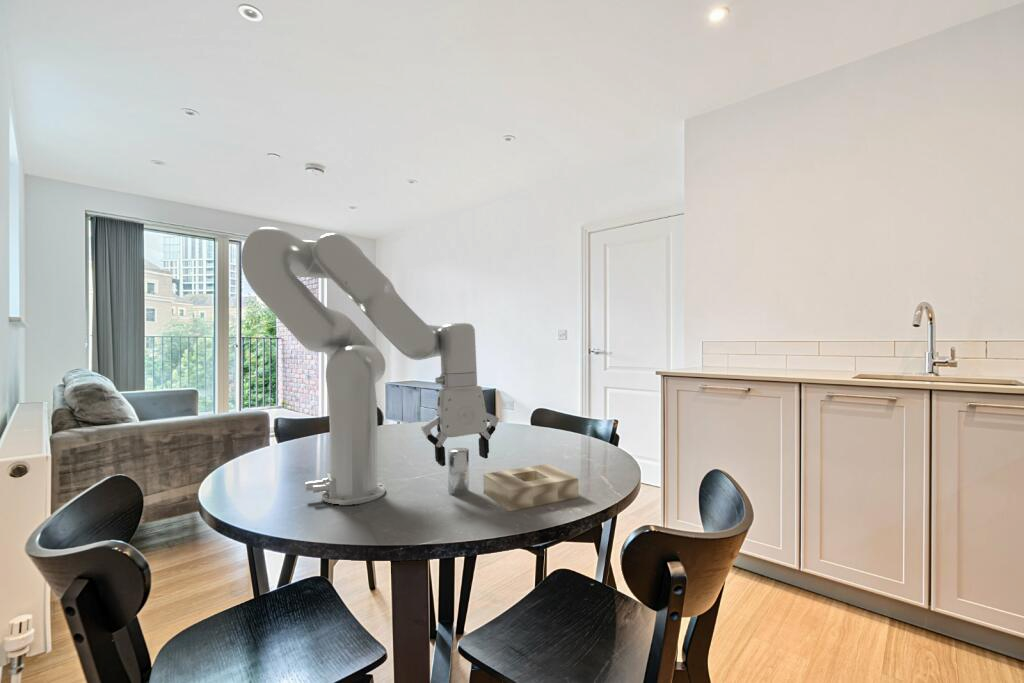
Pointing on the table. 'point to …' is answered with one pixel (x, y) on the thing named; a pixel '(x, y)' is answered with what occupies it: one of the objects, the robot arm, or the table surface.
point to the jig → (530, 486)
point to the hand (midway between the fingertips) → (463, 460)
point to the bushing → (458, 471)
